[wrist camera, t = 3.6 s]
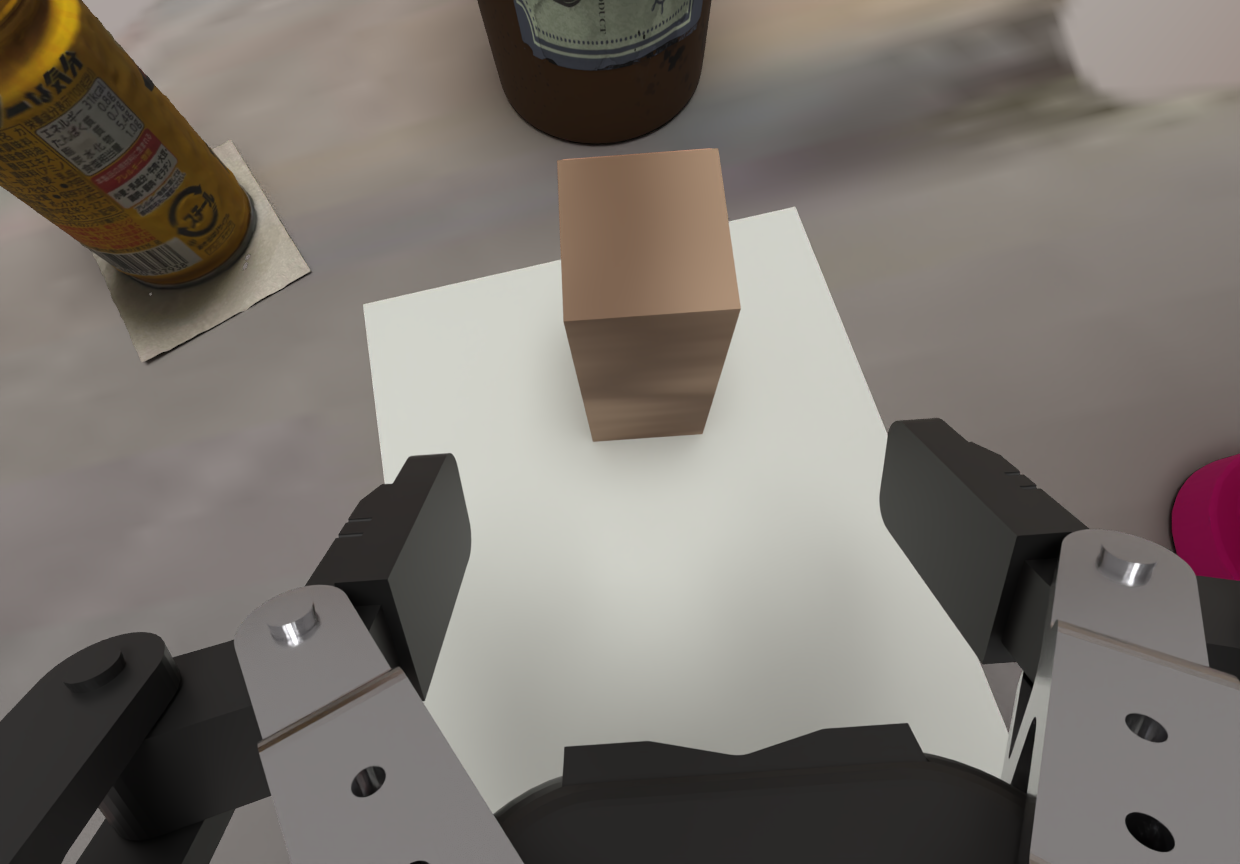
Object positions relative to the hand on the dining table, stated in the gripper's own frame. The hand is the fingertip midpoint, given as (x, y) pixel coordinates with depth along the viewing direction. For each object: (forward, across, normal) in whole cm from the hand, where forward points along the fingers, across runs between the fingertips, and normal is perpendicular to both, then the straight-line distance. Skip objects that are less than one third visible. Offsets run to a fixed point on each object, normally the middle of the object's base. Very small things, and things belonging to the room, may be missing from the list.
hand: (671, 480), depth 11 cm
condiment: (+18, +19, -2) cm, 26 cm away
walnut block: (+12, 0, +3) cm, 12 cm away
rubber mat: (+8, 0, +7) cm, 10 cm away
